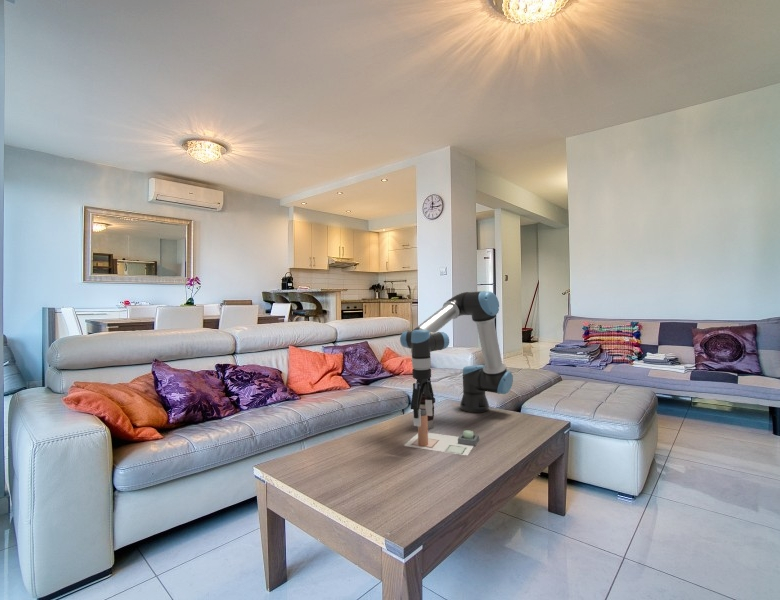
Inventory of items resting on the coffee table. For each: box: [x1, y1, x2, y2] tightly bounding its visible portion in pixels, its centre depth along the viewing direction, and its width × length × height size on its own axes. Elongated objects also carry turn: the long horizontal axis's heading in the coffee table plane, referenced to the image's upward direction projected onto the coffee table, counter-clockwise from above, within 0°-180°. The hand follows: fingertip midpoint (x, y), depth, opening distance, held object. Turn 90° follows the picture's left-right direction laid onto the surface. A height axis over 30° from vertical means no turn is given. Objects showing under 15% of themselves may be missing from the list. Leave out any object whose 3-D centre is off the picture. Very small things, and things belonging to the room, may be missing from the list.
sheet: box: [403, 432, 475, 456], centre depth 154 cm, size 18×26×1 cm
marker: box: [417, 410, 429, 446], centre depth 152 cm, size 4×4×14 cm
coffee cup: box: [416, 394, 436, 430], centre depth 174 cm, size 10×10×15 cm
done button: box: [462, 429, 474, 440], centre depth 155 cm, size 4×4×3 cm
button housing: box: [458, 432, 480, 447], centre depth 155 cm, size 7×7×2 cm
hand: (423, 420), depth 153 cm, fingers open, 13 cm apart
